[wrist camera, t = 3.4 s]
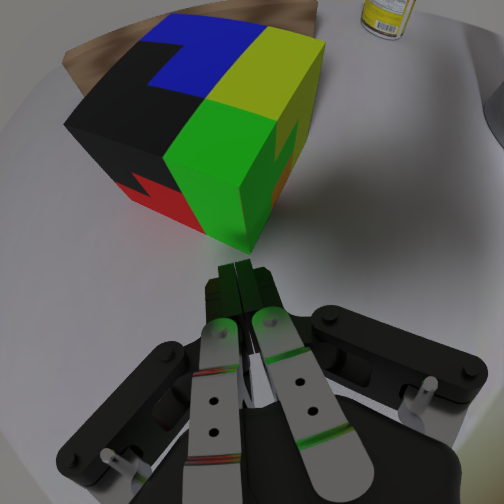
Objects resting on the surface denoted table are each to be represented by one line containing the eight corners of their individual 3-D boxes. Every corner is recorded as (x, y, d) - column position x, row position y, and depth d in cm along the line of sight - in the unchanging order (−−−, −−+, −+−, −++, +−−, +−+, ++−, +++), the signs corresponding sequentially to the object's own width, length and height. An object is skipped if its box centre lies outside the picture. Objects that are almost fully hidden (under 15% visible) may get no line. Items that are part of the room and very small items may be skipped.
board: (305, 37, 26) (309, -7, 20) (311, 46, 25) (317, 2, 19) (88, 88, 25) (65, 52, 19) (86, 100, 25) (61, 63, 19)
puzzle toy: (196, 105, 24) (171, 13, 14) (305, 142, 22) (325, 41, 12) (132, 200, 21) (63, 124, 12) (250, 255, 20) (239, 187, 10)
